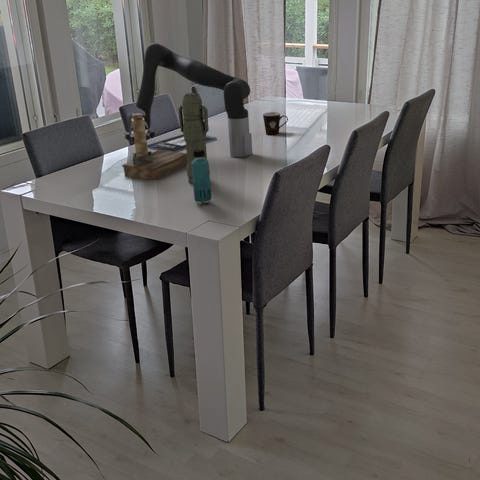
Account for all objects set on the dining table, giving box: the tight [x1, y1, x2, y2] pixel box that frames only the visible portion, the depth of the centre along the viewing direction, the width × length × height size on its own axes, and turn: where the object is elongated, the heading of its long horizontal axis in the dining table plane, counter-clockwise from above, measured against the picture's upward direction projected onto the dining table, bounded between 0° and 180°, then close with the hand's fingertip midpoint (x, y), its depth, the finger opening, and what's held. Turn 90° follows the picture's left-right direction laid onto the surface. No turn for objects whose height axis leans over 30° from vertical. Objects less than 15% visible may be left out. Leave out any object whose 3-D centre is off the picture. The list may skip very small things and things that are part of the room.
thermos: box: [178, 92, 211, 185], centre depth 267 cm, size 9×12×35 cm
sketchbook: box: [147, 133, 217, 152], centre depth 334 cm, size 22×30×2 cm
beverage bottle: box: [191, 149, 213, 203], centre depth 244 cm, size 6×7×20 cm
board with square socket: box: [121, 150, 188, 181], centre depth 291 cm, size 17×25×8 cm
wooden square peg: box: [132, 113, 149, 157], centre depth 285 cm, size 5×5×20 cm
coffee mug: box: [262, 111, 289, 136], centre depth 338 cm, size 12×9×10 cm
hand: (140, 138), depth 282 cm, fingers closed on wooden square peg, 5 cm apart
